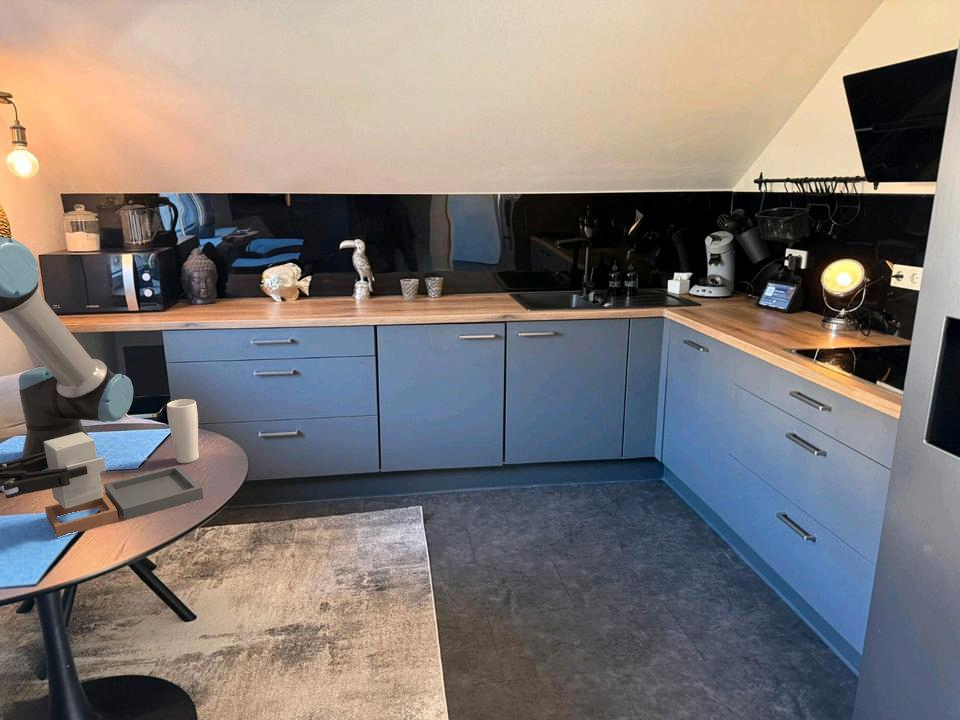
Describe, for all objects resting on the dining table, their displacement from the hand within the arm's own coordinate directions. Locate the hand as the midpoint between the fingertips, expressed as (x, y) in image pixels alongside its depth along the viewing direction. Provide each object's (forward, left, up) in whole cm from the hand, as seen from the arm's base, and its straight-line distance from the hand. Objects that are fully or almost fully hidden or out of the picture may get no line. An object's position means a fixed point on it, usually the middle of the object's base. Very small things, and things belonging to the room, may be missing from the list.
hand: (99, 457), depth 140 cm
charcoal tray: (-2, +10, -13) cm, 16 cm away
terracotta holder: (0, -5, -13) cm, 13 cm away
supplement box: (0, -5, -8) cm, 9 cm away
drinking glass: (-18, +22, -13) cm, 31 cm away
